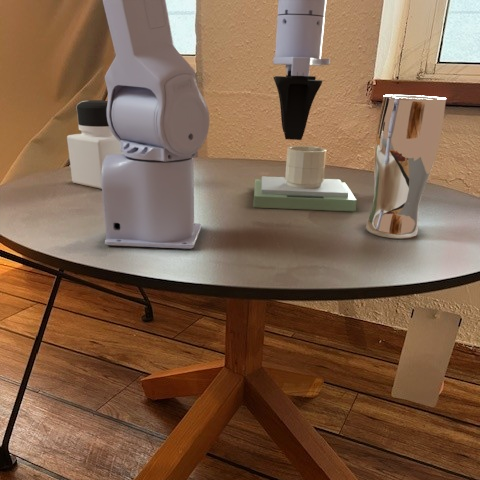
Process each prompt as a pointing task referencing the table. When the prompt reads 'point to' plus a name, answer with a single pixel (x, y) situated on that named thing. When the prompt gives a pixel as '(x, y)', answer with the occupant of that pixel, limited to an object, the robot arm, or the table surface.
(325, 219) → the table surface
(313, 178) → the cup
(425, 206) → the table surface
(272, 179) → the scale
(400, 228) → the beer glass
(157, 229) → the robot arm
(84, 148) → the medicine bottle
